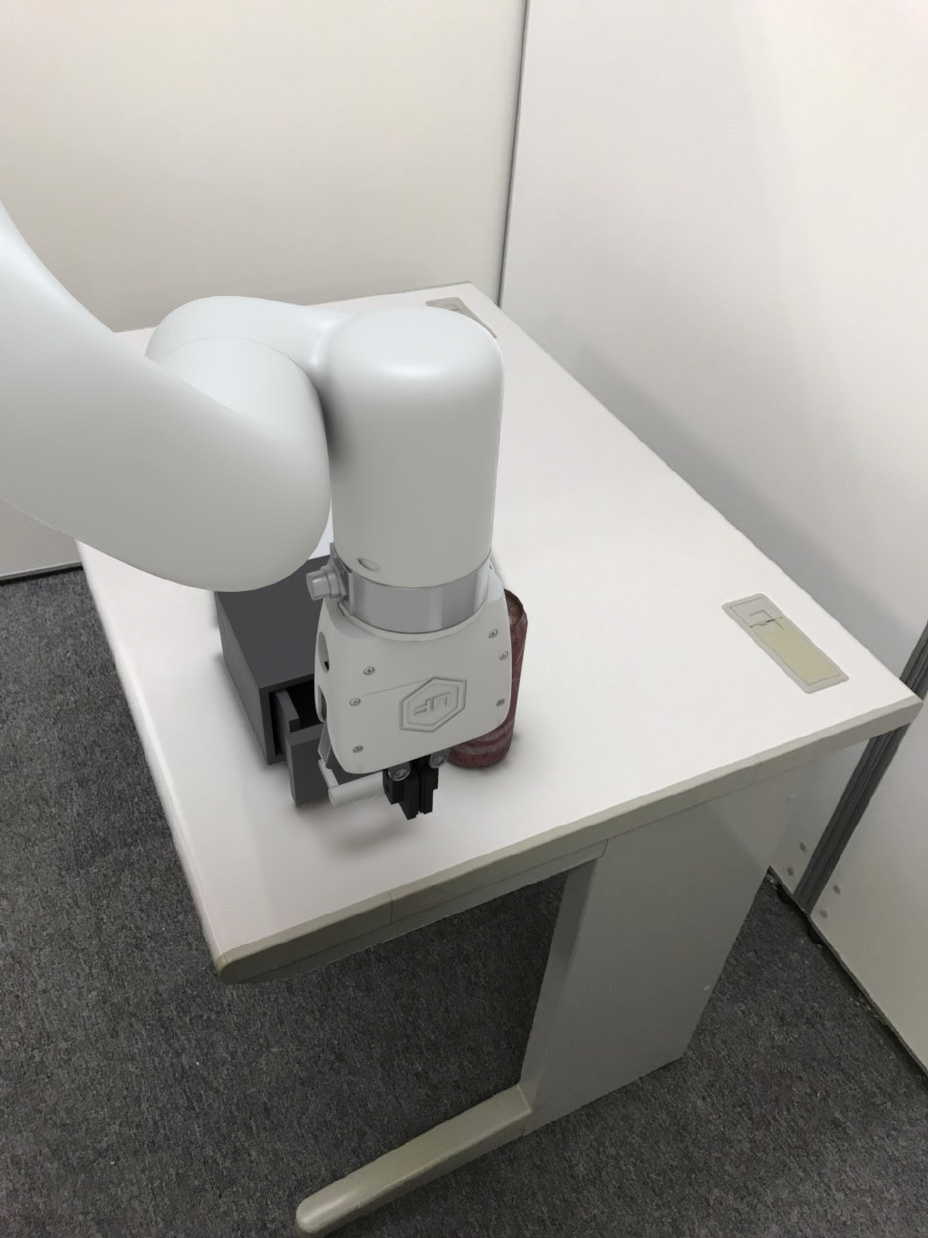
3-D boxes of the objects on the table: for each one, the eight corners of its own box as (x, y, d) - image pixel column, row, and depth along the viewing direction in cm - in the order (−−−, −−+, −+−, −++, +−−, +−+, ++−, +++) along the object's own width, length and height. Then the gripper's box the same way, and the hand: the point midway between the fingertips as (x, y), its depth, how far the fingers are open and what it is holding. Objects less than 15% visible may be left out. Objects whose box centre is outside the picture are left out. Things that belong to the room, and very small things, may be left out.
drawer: (436, 808, 70) (439, 748, 66) (314, 851, 67) (310, 790, 62) (359, 668, 80) (358, 608, 76) (250, 699, 77) (242, 638, 72)
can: (492, 702, 79) (507, 570, 70) (523, 759, 75) (543, 627, 66) (422, 719, 78) (428, 585, 68) (449, 779, 73) (459, 645, 64)
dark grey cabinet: (394, 725, 77) (396, 649, 71) (267, 765, 73) (258, 688, 68) (340, 627, 85) (337, 551, 79) (223, 658, 81) (212, 582, 76)
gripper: (288, 660, 42) (314, 892, 54) (583, 576, 47) (545, 805, 60) (240, 560, 47) (273, 793, 59) (512, 493, 52) (491, 720, 65)
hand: (410, 798), depth 59 cm, fingers closed
